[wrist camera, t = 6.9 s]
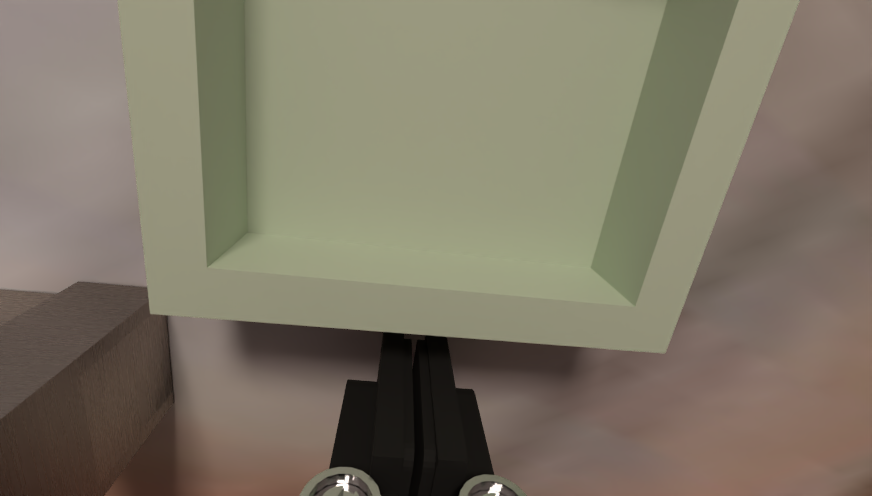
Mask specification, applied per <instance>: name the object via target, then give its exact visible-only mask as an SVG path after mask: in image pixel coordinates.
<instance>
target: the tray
mask: <svg viewBox="0 0 872 496" xmlns="http://www.w3.org/2000/svg"><path fill="white" fill-rule="evenodd" d="M117 1H118V10H119V20H120V30H121V39H122V49H123V58H124V68H125V78H126V87H127V97H128V106H129V116H130V126H131V135H132V145H133V154H134V164H135V174H136V183H137V193H138V202H139V212H140V222H141V231H142V241H143V250H144V260H145V270H146V279H147V289H148V298H149V308H150V314H158V315H171V316H184V317H197V318H210V319H223V320H236V321H249V322H262V323H275V324H288V325H301V326H314V327H327V328H340V329H353V330H366V331H379V332H392V333H405V334H418V335H431V336H444V337H457V338H470V339H483V340H496V341H509V342H523V343H536V344H549V345H562V346H575V347H588V348H601V349H614V350H627V351H640V352H653V353H666V350H667V347H668V345H669V342H670V340H671V337H672V334H673V332H674V329H675V326H676V324H677V321H678V319H679V316H680V313H681V311H682V308H683V305H684V303H685V300H686V298H687V295H688V292H689V290H690V287H691V284H692V282H693V279H694V277H695V274H696V271H697V269H698V266H699V263H700V261H701V258H702V256H703V253H704V250H705V248H706V245H707V242H708V240H709V237H710V235H711V232H712V229H713V227H714V224H715V222H716V219H717V216H718V214H719V211H720V208H721V206H722V203H723V201H724V198H725V195H726V193H727V190H728V187H729V185H730V182H731V180H732V177H733V174H734V172H735V169H736V166H737V164H738V161H739V159H740V156H741V153H742V151H743V148H744V145H745V143H746V140H747V138H748V135H749V132H750V130H751V127H752V124H753V122H754V119H755V117H756V114H757V111H758V109H759V106H760V103H761V101H762V98H763V96H764V93H765V90H766V88H767V85H768V82H769V80H770V77H771V75H772V72H773V69H774V67H775V64H776V61H777V59H778V56H779V54H780V51H781V48H782V46H783V43H784V40H785V38H786V35H787V33H788V30H789V27H790V25H791V22H792V19H793V17H794V14H795V12H796V9H797V6H798V4H799V1H800V0H117Z"/></svg>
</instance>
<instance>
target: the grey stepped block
mask: <svg viewBox="0 0 872 496" xmlns="http://www.w3.org/2000/svg"><path fill="white" fill-rule="evenodd" d="M173 403H174V399H173V388H172V377H171V365H170V354H169V343H168V332H167V321H166V315H158V314H150V308H149V298H148V289H147V287H135V286H123V285H111V284H99V283H88V282H77V283H75V284H73V285H71V286H70V287H68V288H66V289H64V290H63V291H61V292H59V293H57V294H49V293H37V292H24V291H12V290H0V496H104V495H105V494H106V493H107V491H108V490H109V489H110V487H111V486H112V484H113V483H114V482H115V480H116V479H117V478H118V476H119V475H120V474H121V472H122V471H123V470H124V468H125V467H126V466H127V464H128V463H129V462H130V460H131V459H132V458H133V456H134V455H135V454H136V452H137V451H138V450H139V448H140V447H141V446H142V444H143V443H144V442H145V440H146V439H147V438H148V436H149V435H150V434H151V432H152V431H153V430H154V428H155V427H156V426H157V424H158V423H159V422H160V420H161V419H162V418H163V416H164V415H165V414H166V412H167V411H168V410H169V408H170V407H171V406H172V404H173Z"/></svg>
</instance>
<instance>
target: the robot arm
mask: <svg viewBox="0 0 872 496" xmlns="http://www.w3.org/2000/svg"><path fill="white" fill-rule="evenodd" d="M300 496H527V495H526V494H525V493H524V492H523V491H522V490H521V489H520V488H519V487H518V486H517V485H516V484H514V483H512V482H511V481H509V480H508V479H506V478H503V477H500V476H497V475H494V472H493V468H492V464H491V460H490V455H489V451H488V447H487V443H486V439H485V434H484V430H483V426H482V422H481V417H480V413H479V409H478V405H477V401H476V396H475V393H474V391H473V390H472V389H461V388H455V382H454V376H453V370H452V365H451V359H450V353H449V348H448V342H447V337H443V336H431V335H426V336H425V340H417V344H416V350H415V356H414V363H413V369H412V340H411V339H405V338H404V333H392V332H383V340H382V348H381V356H380V363H379V371H378V379H377V382H372V381H359V380H347V384H346V389H345V394H344V399H343V404H342V409H341V414H340V418H339V423H338V428H337V433H336V438H335V443H334V448H333V453H332V458H331V463H330V468H329V469H327V470H325V471H323V472H321V473H319V474H317V475H316V476H315V477H314V478H312V479H311V480H310V481H309V482H308V483H307V484H306V486H305V487H304V489H303V490H302V492H301V494H300Z"/></svg>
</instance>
